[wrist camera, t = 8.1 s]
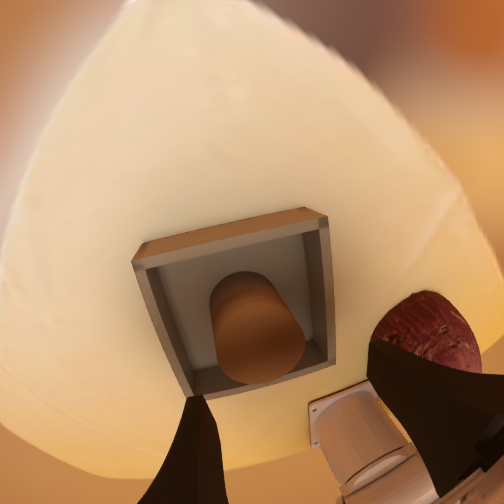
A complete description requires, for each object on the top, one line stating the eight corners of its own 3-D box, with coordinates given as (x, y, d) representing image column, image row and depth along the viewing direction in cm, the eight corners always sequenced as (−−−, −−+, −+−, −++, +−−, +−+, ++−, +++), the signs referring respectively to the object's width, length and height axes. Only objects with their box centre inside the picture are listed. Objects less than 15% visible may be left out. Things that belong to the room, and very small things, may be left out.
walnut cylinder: (279, 324, 20) (306, 372, 15) (216, 337, 19) (225, 391, 14) (273, 264, 18) (303, 302, 13) (203, 278, 18) (207, 323, 12)
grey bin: (317, 338, 22) (335, 364, 18) (187, 372, 20) (188, 403, 17) (304, 207, 18) (327, 216, 15) (142, 243, 17) (131, 261, 14)
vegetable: (378, 365, 29) (420, 472, 17) (344, 330, 24) (399, 479, 12) (449, 316, 26) (509, 415, 14) (435, 264, 21) (528, 393, 9)
